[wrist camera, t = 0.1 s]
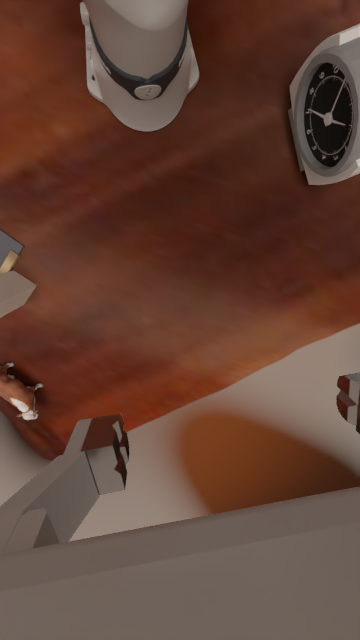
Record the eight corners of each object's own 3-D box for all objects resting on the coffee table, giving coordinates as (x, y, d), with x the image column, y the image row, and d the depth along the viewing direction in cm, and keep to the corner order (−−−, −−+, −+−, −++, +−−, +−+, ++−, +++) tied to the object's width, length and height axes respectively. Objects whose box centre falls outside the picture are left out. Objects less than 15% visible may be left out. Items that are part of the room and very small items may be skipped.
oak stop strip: (13, 250, 52) (10, 250, 51) (20, 254, 52) (18, 255, 51) (-16, 298, 54) (-19, 299, 53) (-9, 302, 54) (-12, 303, 54)
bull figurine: (43, 405, 63) (27, 429, 55) (-5, 367, 59) (-29, 387, 51) (56, 394, 62) (42, 417, 55) (9, 355, 58) (-14, 373, 51)
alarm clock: (274, 90, 47) (354, -7, 28) (319, 71, 47) (432, -41, 28) (296, 194, 53) (376, 172, 34) (337, 177, 53) (440, 146, 34)
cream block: (13, 270, 53) (-34, 282, 40) (36, 285, 54) (-2, 302, 41) (1, 290, 54) (-50, 308, 41) (24, 304, 55) (-18, 327, 42)
